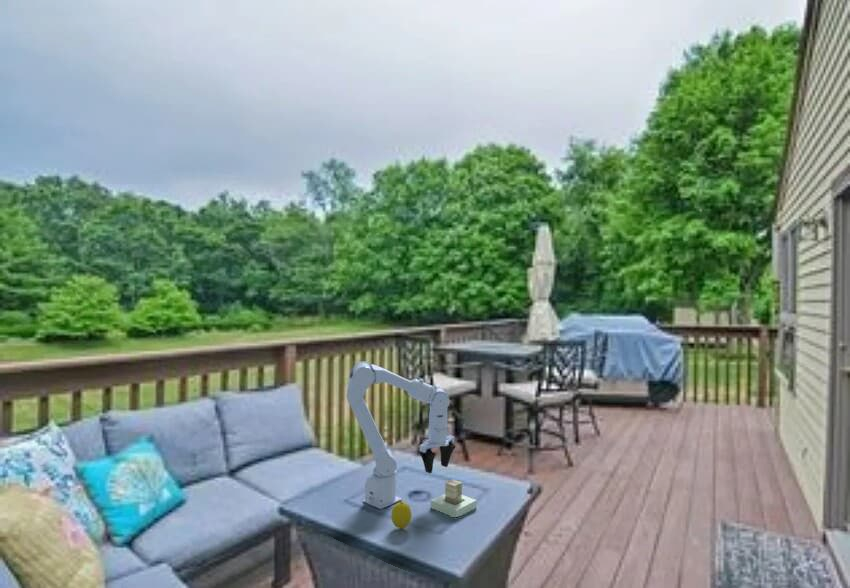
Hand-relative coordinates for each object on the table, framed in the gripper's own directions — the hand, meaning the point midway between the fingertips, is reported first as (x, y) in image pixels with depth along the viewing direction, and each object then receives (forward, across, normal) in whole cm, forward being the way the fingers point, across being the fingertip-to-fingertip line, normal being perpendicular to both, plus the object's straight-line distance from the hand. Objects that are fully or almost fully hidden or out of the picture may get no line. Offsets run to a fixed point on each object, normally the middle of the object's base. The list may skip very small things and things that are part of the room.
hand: (436, 469), depth 185 cm
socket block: (+9, -2, -9) cm, 13 cm away
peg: (+9, -2, -9) cm, 13 cm away
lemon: (+10, -23, -7) cm, 26 cm away
